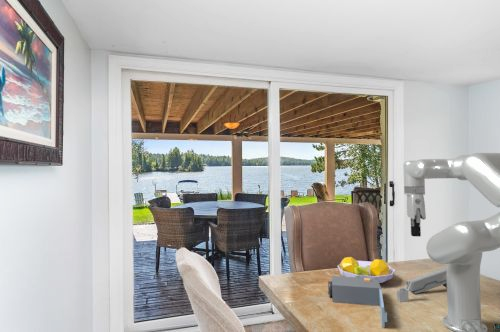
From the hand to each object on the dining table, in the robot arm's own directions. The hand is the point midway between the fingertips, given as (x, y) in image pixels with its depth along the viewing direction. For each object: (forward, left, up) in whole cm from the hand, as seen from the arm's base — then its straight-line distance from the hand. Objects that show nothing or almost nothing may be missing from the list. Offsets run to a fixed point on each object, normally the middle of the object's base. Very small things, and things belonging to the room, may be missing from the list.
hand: (415, 235), depth 128 cm
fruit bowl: (+25, +18, -27) cm, 41 cm away
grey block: (0, +24, -27) cm, 36 cm away
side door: (-16, +15, -27) cm, 35 cm away
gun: (+15, -10, -28) cm, 33 cm away
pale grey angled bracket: (+2, +4, -27) cm, 28 cm away
